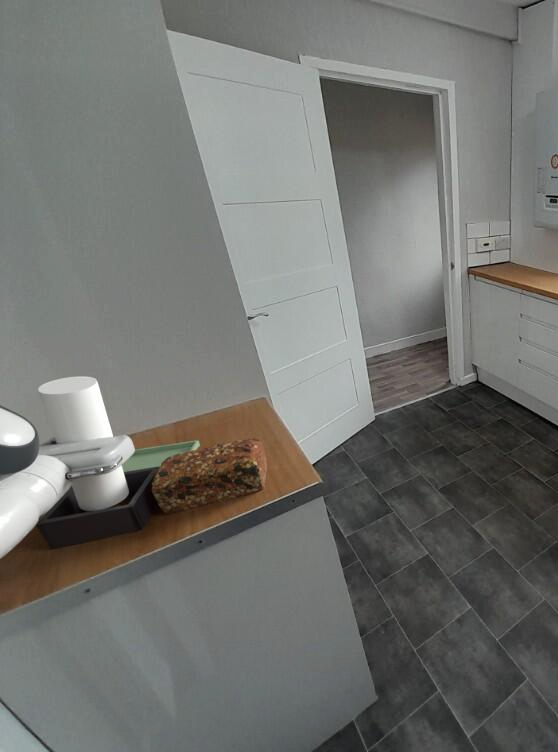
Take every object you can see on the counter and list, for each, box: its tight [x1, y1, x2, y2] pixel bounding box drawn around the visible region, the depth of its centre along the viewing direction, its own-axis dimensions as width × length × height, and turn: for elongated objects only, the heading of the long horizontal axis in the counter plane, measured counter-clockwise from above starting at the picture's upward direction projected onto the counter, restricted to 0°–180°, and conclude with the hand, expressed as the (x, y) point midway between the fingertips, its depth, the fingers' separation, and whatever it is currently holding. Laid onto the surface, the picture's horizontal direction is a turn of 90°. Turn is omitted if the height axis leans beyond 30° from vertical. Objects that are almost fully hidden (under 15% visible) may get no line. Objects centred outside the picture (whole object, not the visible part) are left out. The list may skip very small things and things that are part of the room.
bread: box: [152, 437, 268, 515], centre depth 88 cm, size 19×11×10 cm, turn 113°
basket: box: [35, 466, 160, 550], centre depth 82 cm, size 14×13×6 cm
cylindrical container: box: [37, 375, 129, 512], centre depth 76 cm, size 7×7×25 cm
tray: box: [122, 439, 201, 472], centre depth 96 cm, size 17×15×2 cm
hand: (79, 437), depth 76 cm, fingers closed on cylindrical container, 4 cm apart
